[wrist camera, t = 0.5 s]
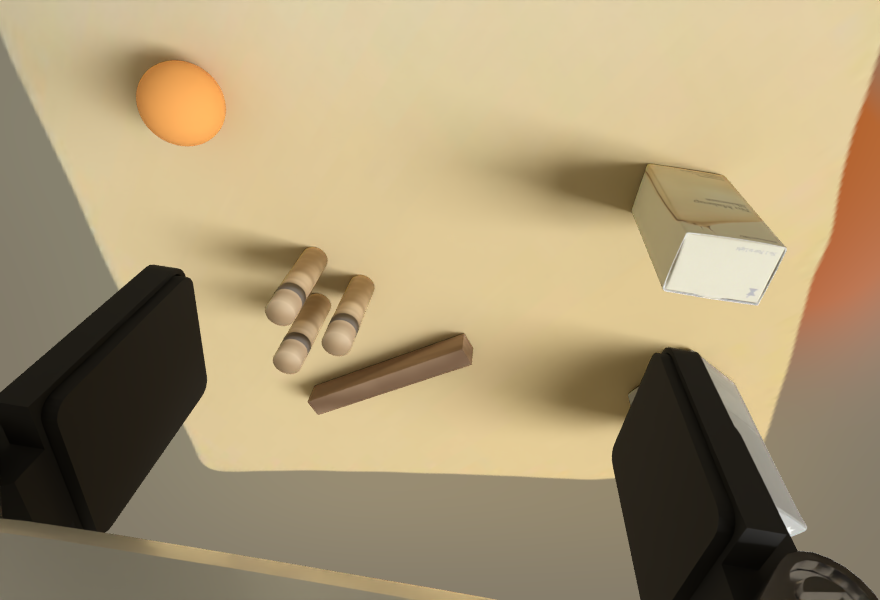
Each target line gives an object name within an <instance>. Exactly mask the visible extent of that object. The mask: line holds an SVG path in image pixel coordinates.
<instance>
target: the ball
mask: <svg viewBox="0 0 880 600" xmlns="http://www.w3.org/2000/svg"><path fill="white" fill-rule="evenodd" d="M136 102H137V107H138V110H139V113H140V116H141V118H142V119H143V121H144V123H145V124H146V126H147V127H148V128H149V129H150V130H151V131H152V132H153V133H154V134H155V135H157V136H158V137H160V138H161V139H163V140H165V141H167V142H169V143H172V144H175V145H180V146H195V145H199V144H203V143H205V142H207V141H209V140H210V139H212V138H213V137H214V136H215V135H216V134H217V133H218V132H219V130H220V129H221V127H222V125H223V122H224V119H225V114H226V106H225V100H224V96H223V93H222V91H221V89H220V87H219V85H218V84H217V82H216V81H215V80H214V79H213V78H212V77H211V76H210V75H209V74H208V73H207V72H206V71H204V70H203V69H202V68H200V67H198V66H196V65H194V64H192V63H189V62H185V61H178V60H170V61H164V62H161V63H158V64H156V65H154V66H152V67H151V68H150V69H149V70H147V71H146V72H145V74H144V75H143V76H142V78H141V80H140V81H139V84H138V87H137V92H136Z"/></svg>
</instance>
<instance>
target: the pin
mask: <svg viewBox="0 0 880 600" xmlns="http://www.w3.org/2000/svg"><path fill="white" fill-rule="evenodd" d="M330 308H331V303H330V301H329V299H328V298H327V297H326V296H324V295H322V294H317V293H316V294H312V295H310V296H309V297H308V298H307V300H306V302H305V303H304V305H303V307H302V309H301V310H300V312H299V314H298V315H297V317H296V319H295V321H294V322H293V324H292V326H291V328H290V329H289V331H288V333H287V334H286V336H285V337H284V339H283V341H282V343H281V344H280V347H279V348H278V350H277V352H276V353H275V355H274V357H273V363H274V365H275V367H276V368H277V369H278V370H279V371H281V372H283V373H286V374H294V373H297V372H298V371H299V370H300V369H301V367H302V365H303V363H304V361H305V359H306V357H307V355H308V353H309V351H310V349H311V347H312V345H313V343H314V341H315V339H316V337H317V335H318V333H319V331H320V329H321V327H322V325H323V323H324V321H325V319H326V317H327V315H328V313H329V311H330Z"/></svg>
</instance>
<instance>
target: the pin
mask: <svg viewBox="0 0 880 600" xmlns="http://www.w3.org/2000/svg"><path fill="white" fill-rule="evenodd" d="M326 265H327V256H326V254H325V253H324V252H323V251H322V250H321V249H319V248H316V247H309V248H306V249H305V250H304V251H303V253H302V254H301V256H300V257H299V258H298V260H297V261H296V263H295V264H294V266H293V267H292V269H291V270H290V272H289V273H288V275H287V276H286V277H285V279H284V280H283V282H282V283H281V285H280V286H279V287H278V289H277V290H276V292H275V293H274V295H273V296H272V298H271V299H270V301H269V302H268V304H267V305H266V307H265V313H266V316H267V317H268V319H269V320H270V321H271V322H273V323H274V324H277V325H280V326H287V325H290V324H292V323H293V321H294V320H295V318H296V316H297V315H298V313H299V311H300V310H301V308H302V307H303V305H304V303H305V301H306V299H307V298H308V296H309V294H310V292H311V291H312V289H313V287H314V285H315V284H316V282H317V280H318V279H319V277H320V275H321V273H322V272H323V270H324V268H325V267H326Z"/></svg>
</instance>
